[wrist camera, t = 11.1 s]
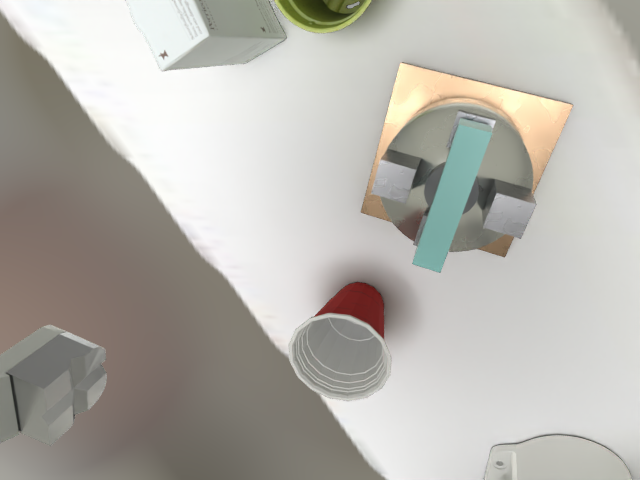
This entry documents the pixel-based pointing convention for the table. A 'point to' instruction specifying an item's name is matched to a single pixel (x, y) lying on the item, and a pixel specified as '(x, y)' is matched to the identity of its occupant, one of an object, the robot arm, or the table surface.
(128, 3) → the skincare box
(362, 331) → the plastic cup
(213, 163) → the table surface
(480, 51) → the table surface
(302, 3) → the plant pot
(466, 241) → the socket
